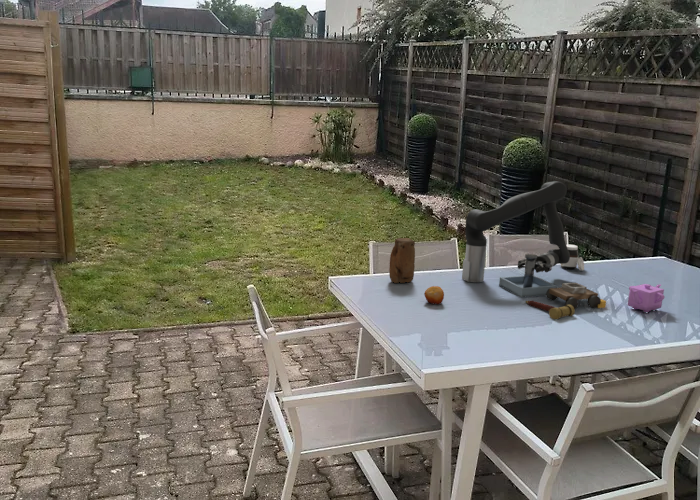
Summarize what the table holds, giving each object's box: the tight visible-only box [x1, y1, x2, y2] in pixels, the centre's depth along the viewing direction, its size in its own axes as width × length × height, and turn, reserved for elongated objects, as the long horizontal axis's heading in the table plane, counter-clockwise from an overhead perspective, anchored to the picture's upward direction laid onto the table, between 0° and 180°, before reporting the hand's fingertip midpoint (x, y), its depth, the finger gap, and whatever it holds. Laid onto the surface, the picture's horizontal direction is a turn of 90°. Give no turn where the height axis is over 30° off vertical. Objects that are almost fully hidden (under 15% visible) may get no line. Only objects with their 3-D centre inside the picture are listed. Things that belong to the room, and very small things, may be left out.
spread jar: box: [560, 243, 585, 272], centre depth 324 cm, size 12×11×12 cm
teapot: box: [627, 283, 666, 313], centre depth 262 cm, size 15×13×11 cm
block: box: [388, 237, 416, 284], centre depth 289 cm, size 11×8×20 cm
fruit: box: [423, 285, 445, 305], centre depth 262 cm, size 8×8×8 cm
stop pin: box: [523, 253, 538, 288], centre depth 283 cm, size 5×5×15 cm
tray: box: [498, 275, 558, 298], centre depth 284 cm, size 18×18×4 cm
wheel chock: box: [596, 298, 607, 309], centre depth 264 cm, size 4×3×3 cm
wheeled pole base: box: [546, 282, 601, 310], centre depth 267 cm, size 16×15×8 cm
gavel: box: [525, 299, 576, 320], centre depth 257 cm, size 21×5×10 cm
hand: (527, 268), depth 281 cm, fingers open, 8 cm apart
